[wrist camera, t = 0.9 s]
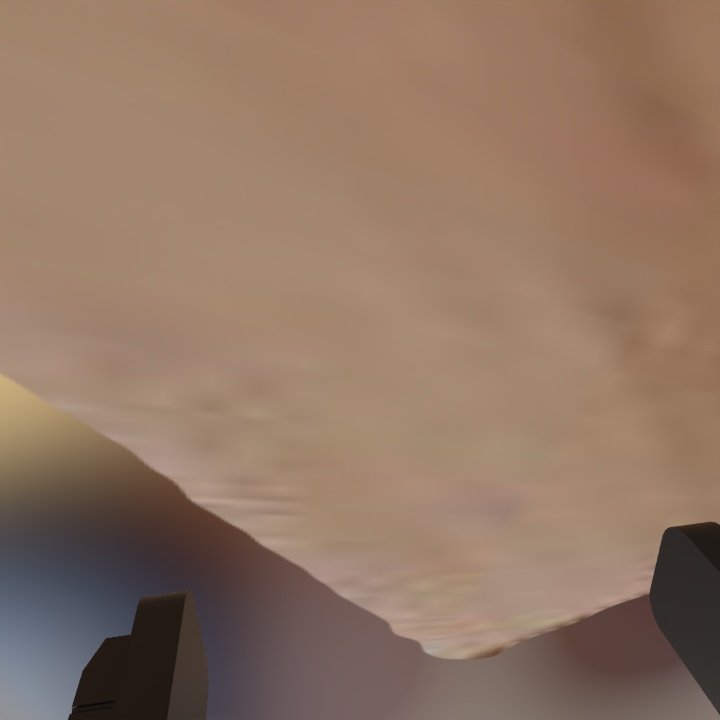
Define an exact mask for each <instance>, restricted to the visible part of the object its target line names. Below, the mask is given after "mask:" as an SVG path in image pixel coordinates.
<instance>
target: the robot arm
mask: <svg viewBox="0 0 720 720" xmlns="http://www.w3.org/2000/svg"><path fill="white" fill-rule="evenodd" d="M650 603H651V608H652V612H653V615H654V618H655V620H656V622H657V624H658V626H659V628H660V629H661V631H662V632H663V634H664V635H665V637H666V638H667V640H668V641H669V642H670V644H671V645H672V647H673V648H674V650H675V651H676V653H677V654H678V655H679V657H680V658H681V660H682V661H683V663H684V664H685V665H686V667H687V668H688V670H689V671H690V673H691V674H692V675H693V677H694V678H695V680H696V681H697V683H698V684H699V686H700V687H701V688H702V690H703V691H704V693H705V694H706V696H707V697H708V699H709V700H710V701H711V703H712V704H713V706H714V707H715V709H716V710H717V711H718V713H719V714H720V525H719V524H717V523H715V522H705V523H698V524H691V525H683V526H676V527H669V528H667V529H666V530H665V532H664V534H663V537H662V541H661V545H660V549H659V554H658V558H657V562H656V567H655V571H654V575H653V580H652V584H651V588H650ZM207 700H208V666H207V657H206V651H205V647H204V642H203V638H202V634H201V629H200V625H199V621H198V616H197V611H196V607H195V602H194V598H193V595H192V593H191V591H183V592H176V593H169V594H161V595H154V596H146V597H142V598H141V599H140V601H139V604H138V607H137V611H136V615H135V620H134V624H133V628H132V632H131V635H126V636H119V637H112V638H106V639H105V641H104V642H103V643H102V645H101V646H100V648H99V649H98V650H97V652H96V653H95V655H94V656H93V657H92V659H91V660H90V662H89V663H88V664H87V666H86V667H85V668H84V670H83V672H82V676H81V679H80V682H79V685H78V688H77V692H76V695H75V698H74V702H73V705H72V714H70V715H69V718H68V720H206V712H207Z"/></svg>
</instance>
